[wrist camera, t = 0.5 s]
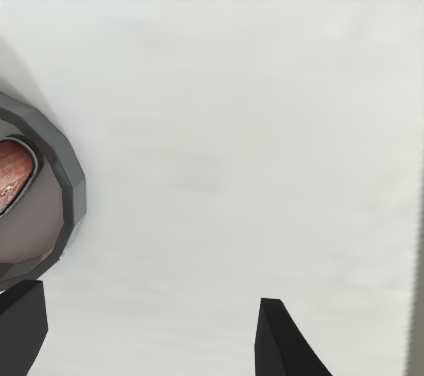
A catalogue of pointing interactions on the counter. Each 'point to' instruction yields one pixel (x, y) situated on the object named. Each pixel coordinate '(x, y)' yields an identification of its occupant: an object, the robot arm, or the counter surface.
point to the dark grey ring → (67, 177)
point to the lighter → (17, 169)
